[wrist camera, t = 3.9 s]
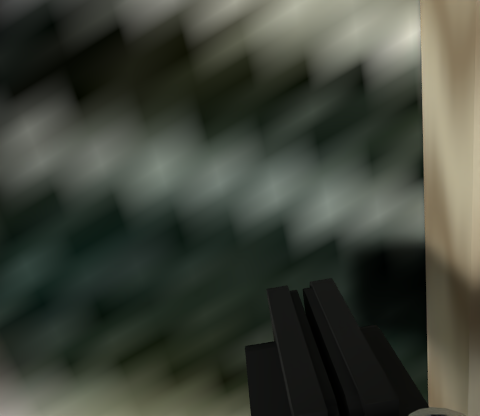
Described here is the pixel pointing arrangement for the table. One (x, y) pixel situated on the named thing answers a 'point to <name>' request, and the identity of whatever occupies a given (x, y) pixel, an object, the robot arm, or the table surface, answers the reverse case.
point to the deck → (452, 200)
